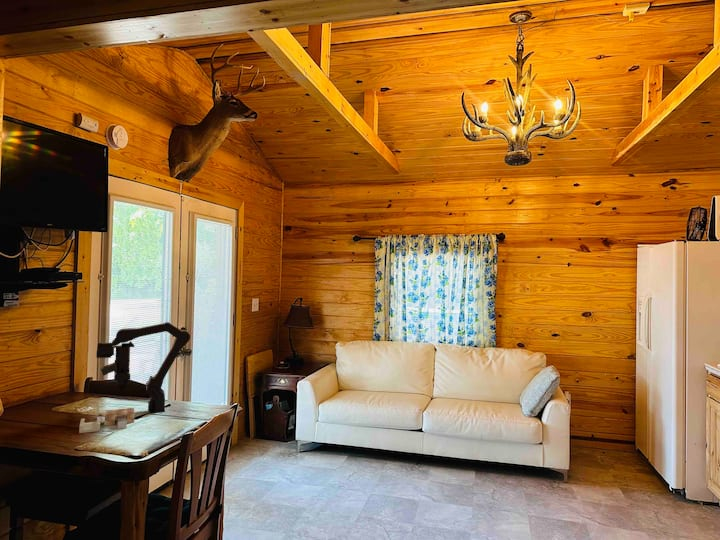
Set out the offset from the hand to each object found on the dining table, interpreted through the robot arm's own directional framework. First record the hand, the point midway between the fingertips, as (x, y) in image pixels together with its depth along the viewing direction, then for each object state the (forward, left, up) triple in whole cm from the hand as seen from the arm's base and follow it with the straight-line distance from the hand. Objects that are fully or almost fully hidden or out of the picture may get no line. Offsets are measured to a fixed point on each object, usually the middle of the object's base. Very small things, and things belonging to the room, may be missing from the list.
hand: (121, 392), depth 212 cm
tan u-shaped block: (+1, +12, -10) cm, 16 cm away
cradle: (+11, +17, -10) cm, 23 cm away
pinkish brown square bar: (0, +13, -10) cm, 17 cm away
